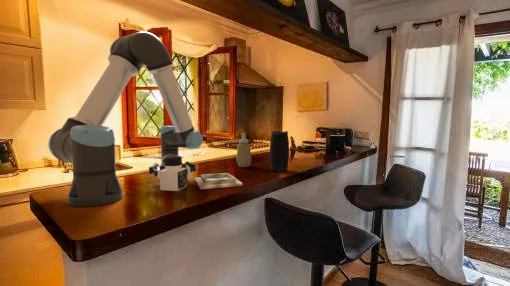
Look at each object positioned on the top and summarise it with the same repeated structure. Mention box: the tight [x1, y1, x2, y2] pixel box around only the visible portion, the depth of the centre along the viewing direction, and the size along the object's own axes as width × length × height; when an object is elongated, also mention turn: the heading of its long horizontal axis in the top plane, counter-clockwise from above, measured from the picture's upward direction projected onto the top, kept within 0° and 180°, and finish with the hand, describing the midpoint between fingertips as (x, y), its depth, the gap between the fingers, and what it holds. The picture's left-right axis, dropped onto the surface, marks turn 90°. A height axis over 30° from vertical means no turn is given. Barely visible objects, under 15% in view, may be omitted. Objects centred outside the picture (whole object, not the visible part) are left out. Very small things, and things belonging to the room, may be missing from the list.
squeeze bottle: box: [236, 132, 252, 168], centre depth 147 cm, size 8×8×18 cm
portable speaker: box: [269, 130, 290, 173], centre depth 135 cm, size 9×9×20 cm
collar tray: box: [194, 172, 243, 190], centre depth 111 cm, size 16×16×2 cm
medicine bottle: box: [159, 155, 188, 192], centre depth 101 cm, size 7×7×12 cm
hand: (174, 173), depth 97 cm, fingers closed on medicine bottle, 9 cm apart
